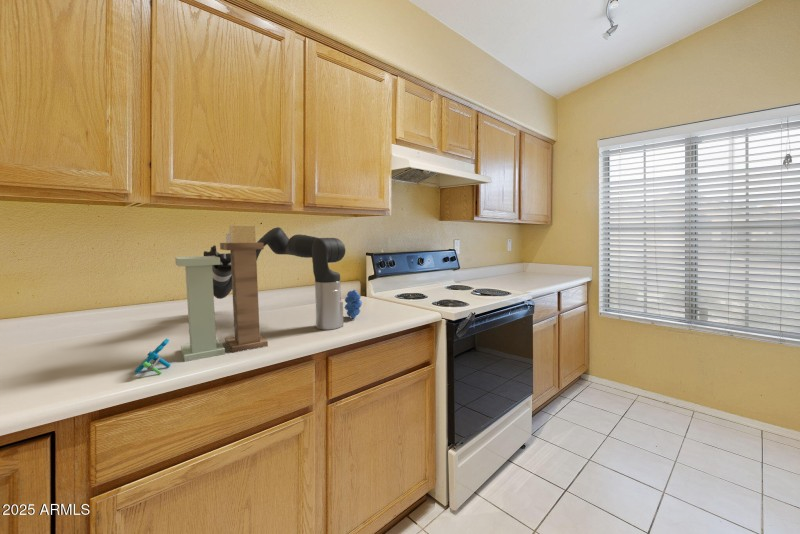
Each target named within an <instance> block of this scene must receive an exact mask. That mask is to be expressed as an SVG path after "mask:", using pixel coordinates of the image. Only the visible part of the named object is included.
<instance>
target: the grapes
mask: <svg viewBox="0 0 800 534" xmlns="http://www.w3.org/2000/svg"><path fill="white" fill-rule="evenodd" d="M361 298H362V297H361V295H360V294H359V293H358V291H357V290H356V289H353V290H350V291H348V292H347V294H346V297H345V299H344V302H345V303H346V304H345V306H344V309H345V310H346V315H347V316H348V317H350V318H352V319H355V318H356V317H357V316H358V315H359V314H360V313H361V309H360V308H361V307H362V305H363V302H362V301H361Z"/></svg>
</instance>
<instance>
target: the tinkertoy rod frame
mask: <svg viewBox="0 0 800 534" xmlns="http://www.w3.org/2000/svg"><path fill="white" fill-rule="evenodd" d="M169 342H170V339H169V338H165V340H163V341H162V342H161V343H160V344H159V345H157V347H156V348H155V349H154V350H152V351H149V353H148V354H147V357H146V358H145V359H144V360H143V361H141V364H139V365H138V367H137V368H136V369H135V370H134V372H135V374H138V373H140V372H141V371H142V370H143V369H145V368H146V369H147V371H149V372H150V371H154V372H155V373H157V374H158V375H159V374H160V375H161V374H162V373H163V371H161V370H159V369H158V368H157V367H155V366H156V364H157V363H160V364H161V365H162V366H164V367H166V368H168V369H169V368H170V367H171V365H172V364H171V363H170V362H168V361H166V360H165V359H163V358H162V356H161V355H160V354H159V353H160V352H161V351H162V350H163V349H164V348H165V347H166V345H168V343H169ZM151 361H154V362H153V363H151Z"/></svg>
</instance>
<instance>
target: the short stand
mask: <svg viewBox="0 0 800 534" xmlns="http://www.w3.org/2000/svg"><path fill="white" fill-rule="evenodd" d="M174 258H175V266H177V267H179V268H180V267H185V282H186V283H185V287H186V298H187V302H186V303H187V315H188V316H187V317H188V318H187V319H188V333H189V343H187V344H181V345H180V350H181V351H180V352H181V354H182V358H183V357H184V358H183V360H184V362H189V361H188V360H190V361H193V360H194V359H195V360H200V359H199V358H201V359H206V358H211V357H210V356H212V357H215V356H216V355H217V356H221V354H222V355H226V348H225V347H224V345H223V344H222V343H221V341H220V340H219V339H218V338H217V333H216V332H217V331H216V315H215V299H214V297H215V296H214V293H213V275H212V265H220V257H216V256H204V255H203V256H199V255H198V256H176V257H174ZM205 357H206V358H205ZM195 360H194V361H195Z"/></svg>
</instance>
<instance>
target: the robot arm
mask: <svg viewBox="0 0 800 534" xmlns="http://www.w3.org/2000/svg"><path fill="white" fill-rule="evenodd" d="M256 242H257V243H263V244H264V247H266V246H268V247H269V249H270V250H271V251H272V252H273V253H274V254H276V255H289V256H295V257H298V258H299V257H300V258H305V259H306V258H307V259H309V258H311V260H312V271H313V272H312V273H313V276H314V284H315V285H314V289H315V290H314V292H315V321H316V322H315V325H316V329H318V330H336V329H339V328H341V327H344V302H343V300H341V299H342V297H341V294H342V293H341V289H342V288H341V274H340V273H339V272H337V271H334V270H333V269H330V267H329V263H332V264H333V263H337V262H339V261H342V260H343V258H344V257H345V255H346V247H345V244H344V242H343V241H342V240H341V239H339V238H336V237H316V236H312V235H306V234H294V235H291V237H288V235H287V234H286V233H285V232H284V230H283V229H282V228H281V227H280V226H279V227H273V228H271V229H270V230H269V231H268V232H267V231H266V233H265V234H264V235H262V237H261V238H259V240H257V241H256ZM262 251H263V249H256V262H257V261H258V258H259V256H260V254H261V252H262ZM203 256H216V257H220V265H212V275H213V293H214V297H215V298H216V299H219V300H220V299H221V300H222V299H224V298H226V297H227V296H229V294H230V293H231V291H232V273H231V253H230V252H228V253H220V252H218V251H217V245H215V244H213V246H211V247H210V250H209V251H208V250H207V251H206V250H204V251H203Z"/></svg>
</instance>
